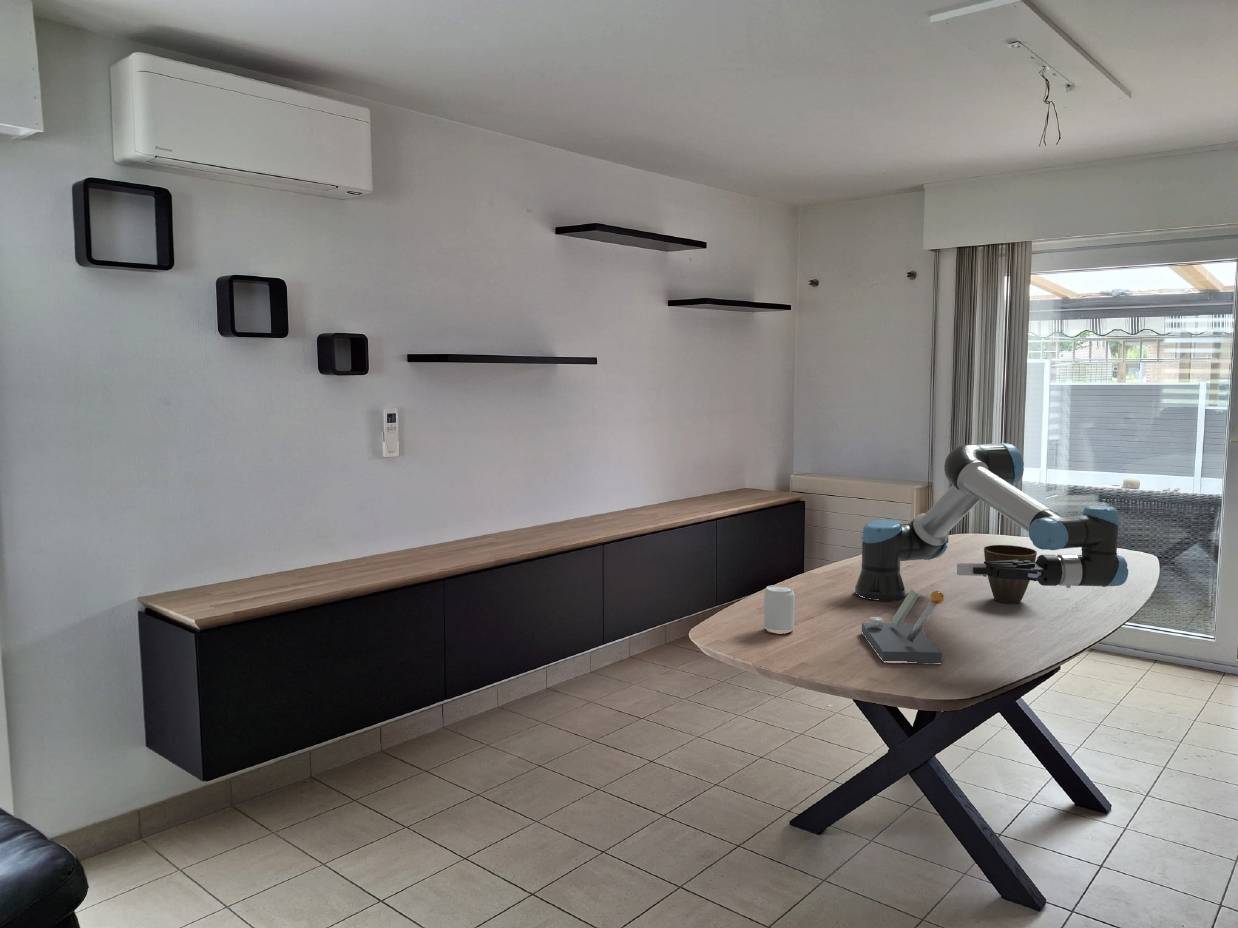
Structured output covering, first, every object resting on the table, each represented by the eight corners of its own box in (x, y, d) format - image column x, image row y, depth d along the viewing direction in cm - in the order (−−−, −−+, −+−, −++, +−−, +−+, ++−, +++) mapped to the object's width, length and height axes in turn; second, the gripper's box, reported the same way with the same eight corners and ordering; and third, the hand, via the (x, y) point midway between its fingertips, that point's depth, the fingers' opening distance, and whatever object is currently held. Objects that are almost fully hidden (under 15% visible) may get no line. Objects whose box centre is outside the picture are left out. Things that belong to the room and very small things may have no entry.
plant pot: (1040, 608, 261) (1042, 555, 259) (986, 605, 264) (989, 553, 262) (1027, 595, 275) (1029, 545, 274) (977, 593, 278) (979, 543, 277)
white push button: (867, 623, 233) (867, 616, 233) (880, 623, 233) (881, 616, 232) (870, 627, 229) (870, 620, 229) (884, 627, 229) (884, 620, 229)
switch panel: (861, 633, 237) (861, 622, 236) (914, 634, 236) (914, 623, 235) (883, 663, 213) (883, 651, 212) (941, 664, 212) (942, 652, 212)
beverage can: (789, 626, 243) (790, 584, 241) (796, 635, 235) (797, 591, 233) (761, 626, 242) (761, 584, 241) (766, 635, 234) (767, 592, 233)
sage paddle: (891, 620, 233) (911, 588, 232) (894, 622, 233) (914, 590, 232) (895, 625, 228) (916, 592, 227) (898, 627, 228) (919, 594, 227)
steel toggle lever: (902, 634, 218) (933, 587, 217) (913, 641, 218) (944, 593, 217) (905, 638, 215) (937, 590, 213) (916, 645, 215) (948, 596, 213)
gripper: (1068, 592, 207) (966, 590, 208) (1044, 579, 219) (948, 578, 221) (1069, 560, 206) (967, 559, 207) (1046, 549, 219) (950, 548, 220)
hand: (958, 569), depth 214 cm, fingers closed
